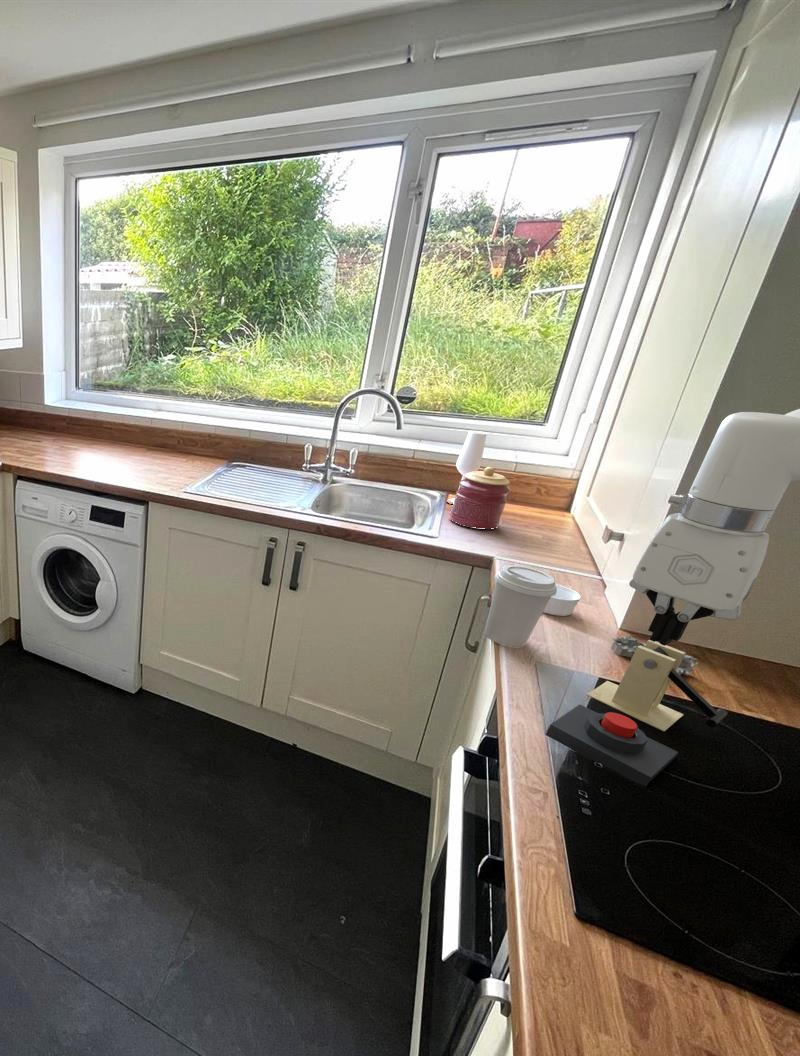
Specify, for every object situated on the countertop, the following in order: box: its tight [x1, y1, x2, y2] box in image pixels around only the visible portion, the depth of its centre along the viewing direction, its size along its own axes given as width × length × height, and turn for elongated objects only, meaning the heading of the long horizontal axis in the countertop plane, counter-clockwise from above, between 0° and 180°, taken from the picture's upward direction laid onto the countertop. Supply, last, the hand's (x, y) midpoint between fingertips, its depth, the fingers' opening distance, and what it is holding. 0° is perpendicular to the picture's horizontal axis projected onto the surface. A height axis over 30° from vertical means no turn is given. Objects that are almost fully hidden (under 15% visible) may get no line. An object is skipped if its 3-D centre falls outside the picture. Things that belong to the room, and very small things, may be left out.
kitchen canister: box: [449, 466, 511, 529], centre depth 173 cm, size 13×13×18 cm
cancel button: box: [601, 711, 638, 738], centre depth 85 cm, size 4×4×2 cm
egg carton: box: [610, 635, 700, 676], centre depth 107 cm, size 11×8×4 cm
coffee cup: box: [483, 564, 557, 649], centre depth 110 cm, size 10×10×15 cm
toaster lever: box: [653, 647, 729, 728], centre depth 89 cm, size 12×5×2 cm
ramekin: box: [542, 583, 582, 617], centre depth 127 cm, size 9×9×4 cm
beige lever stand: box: [586, 638, 687, 733], centre depth 93 cm, size 10×8×12 cm
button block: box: [545, 704, 679, 786], centre depth 86 cm, size 12×10×4 cm
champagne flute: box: [449, 430, 488, 503], centre depth 189 cm, size 7×7×24 cm
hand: (661, 640), depth 79 cm, fingers closed
